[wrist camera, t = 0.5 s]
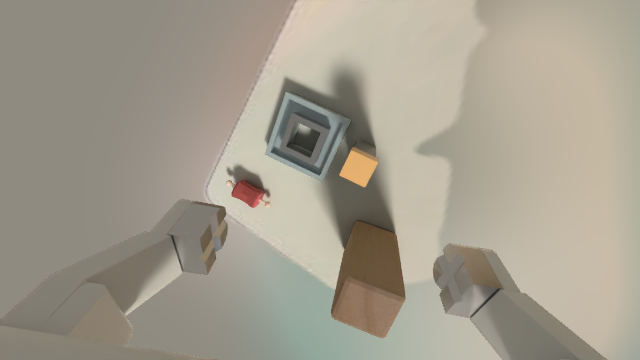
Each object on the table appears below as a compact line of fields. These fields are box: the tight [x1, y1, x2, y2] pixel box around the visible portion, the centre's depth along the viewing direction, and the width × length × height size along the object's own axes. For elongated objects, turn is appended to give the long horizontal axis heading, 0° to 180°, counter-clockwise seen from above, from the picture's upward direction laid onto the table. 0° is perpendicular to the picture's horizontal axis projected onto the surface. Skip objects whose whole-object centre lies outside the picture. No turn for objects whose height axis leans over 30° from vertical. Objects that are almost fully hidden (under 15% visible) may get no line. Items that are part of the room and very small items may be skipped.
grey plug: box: [339, 139, 378, 187], centre depth 45 cm, size 5×5×14 cm
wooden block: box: [331, 221, 405, 338], centre depth 49 cm, size 10×10×20 cm
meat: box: [226, 180, 271, 208], centre depth 58 cm, size 12×5×5 cm, turn 64°
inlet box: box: [265, 92, 351, 182], centre depth 51 cm, size 14×14×4 cm
